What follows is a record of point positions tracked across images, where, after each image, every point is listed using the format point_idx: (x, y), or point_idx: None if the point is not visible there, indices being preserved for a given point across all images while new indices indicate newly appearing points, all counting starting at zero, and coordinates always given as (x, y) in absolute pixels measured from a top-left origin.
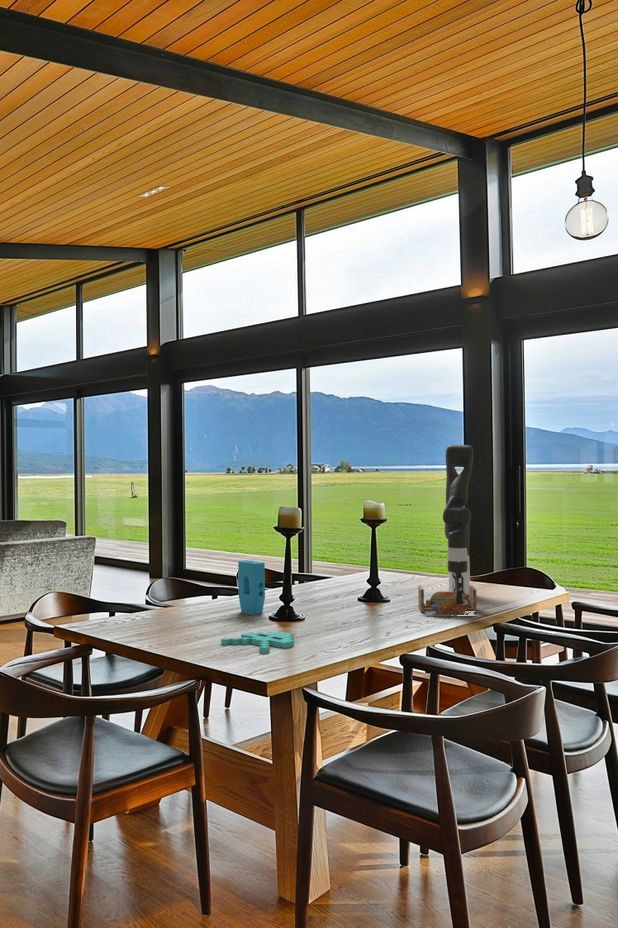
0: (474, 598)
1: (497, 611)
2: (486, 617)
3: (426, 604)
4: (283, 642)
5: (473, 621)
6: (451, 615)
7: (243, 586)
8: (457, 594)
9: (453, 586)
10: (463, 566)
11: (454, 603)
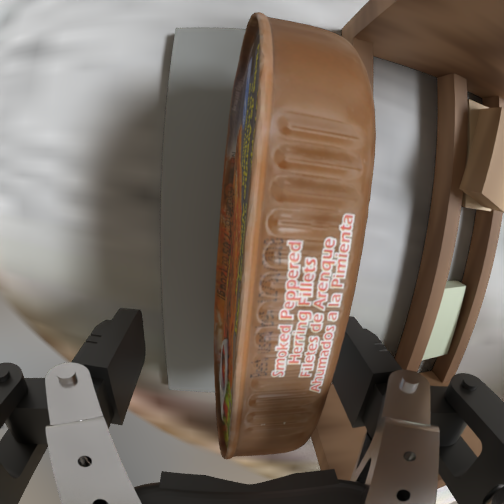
0: (322, 458)
1: (313, 466)
2: (157, 418)
3: (480, 112)
4: None
5: (39, 331)
6: (160, 227)
7: None
8: (76, 376)
9: (381, 425)
10: None
11: (230, 300)
